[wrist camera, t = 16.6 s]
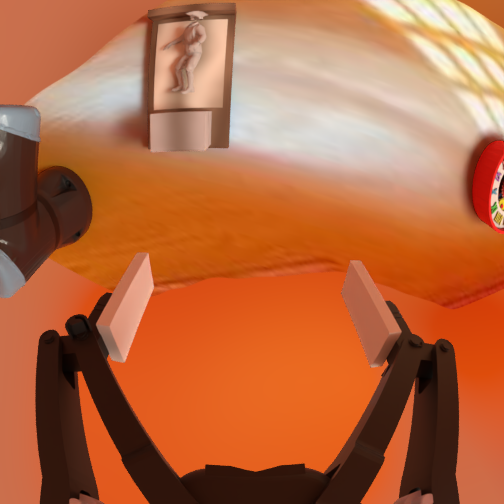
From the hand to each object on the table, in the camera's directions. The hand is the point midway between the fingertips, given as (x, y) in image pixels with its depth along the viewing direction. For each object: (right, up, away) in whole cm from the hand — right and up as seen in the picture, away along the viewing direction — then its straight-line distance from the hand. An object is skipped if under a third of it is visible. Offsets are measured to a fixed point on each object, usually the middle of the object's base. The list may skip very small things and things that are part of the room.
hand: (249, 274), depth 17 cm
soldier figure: (-8, +29, +12) cm, 32 cm away
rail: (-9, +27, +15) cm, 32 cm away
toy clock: (+55, +17, +23) cm, 62 cm away
